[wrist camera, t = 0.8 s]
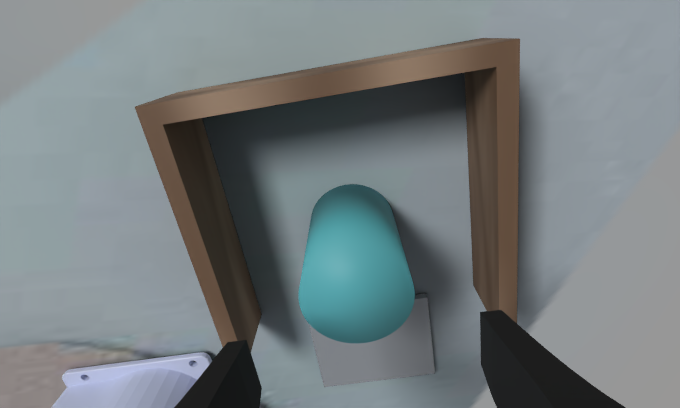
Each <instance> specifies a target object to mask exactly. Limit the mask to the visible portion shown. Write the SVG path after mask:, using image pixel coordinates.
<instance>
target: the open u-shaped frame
mask: <svg viewBox="0 0 680 408" xmlns="http://www.w3.org/2000/svg"><path fill="white" fill-rule="evenodd" d="M519 68H520V39H503V38H481V39H475V40H469V41H464V42H458V43H452V44H447V45H441V46H436V47H430V48H424V49H419V50H413V51H408V52H402V53H396V54H391V55H385V56H380V57H374V58H368V59H363V60H357V61H352V62H346V63H340V64H335V65H329V66H324V67H318V68H312V69H307V70H301V71H296V72H290V73H284V74H279V75H273V76H267V77H262V78H256V79H251V80H245V81H239V82H234V83H228V84H223V85H217V86H211V87H206V88H200V89H195V90H189V91H183V92H178V93H174V94H171V95H168V96H165V97H162V98H159V99H157V100H154V101H151V102H148V103H145V104H142V105H139V106H136V107H135V109H136V112H137V115H138V117H139V120H140V123H141V125H142V128H143V131H144V134H145V136H146V139H147V142H148V144H149V147H150V150H151V153H152V155H153V158H154V161H155V164H156V166H157V169H158V172H159V174H160V177H161V180H162V183H163V185H164V188H165V191H166V193H167V196H168V199H169V202H170V204H171V207H172V210H173V213H174V215H175V218H176V221H177V223H178V226H179V229H180V232H181V234H182V237H183V240H184V242H185V245H186V248H187V251H188V253H189V256H190V259H191V262H192V264H193V267H194V270H195V272H196V275H197V278H198V281H199V283H200V286H201V289H202V291H203V294H204V297H205V300H206V302H207V305H208V308H209V311H210V313H211V316H212V319H213V321H214V324H215V327H216V330H217V332H218V335H219V338H220V340H221V343H222V346H223V347H224V346H225V345H226V343H227V342H233V341H241V340H247V343H248V346H249V349H250V353H251V349H252V346H253V342H254V339H255V335H256V332H257V328H258V325H259V321H260V318H261V315H262V314H261V311H260V307H259V304H258V301H257V298H256V294H255V291H254V288H253V284H252V281H251V278H250V275H249V271H248V268H247V265H246V262H245V258H244V255H243V252H242V248H241V245H240V242H239V239H238V235H237V232H236V229H235V225H234V222H233V219H232V216H231V212H230V209H229V206H228V202H227V199H226V196H225V193H224V189H223V186H222V183H221V179H220V176H219V173H218V170H217V166H216V163H215V160H214V157H213V153H212V150H211V147H210V143H209V140H208V137H207V134H206V130H205V127H204V124H203V120H202V118H204V117H210V116H215V115H221V114H227V113H233V112H239V111H244V110H250V109H256V108H262V107H267V106H273V105H279V104H285V103H291V102H296V101H302V100H308V99H314V98H320V97H325V96H331V95H337V94H343V93H348V92H354V91H360V90H366V89H372V88H377V87H383V86H389V85H395V84H400V83H406V82H412V81H418V80H424V79H429V78H435V77H441V76H447V75H452V74H458V73H464V72H465V93H466V117H467V141H468V165H469V189H470V213H471V237H472V261H473V285H474V287H475V289H476V291H477V293H478V295H479V297H480V299H481V301H482V302H483V304H484V306H485V308H486V310H487V311H494V310H502V311H503V312H505V313H506V314H507V315H508V316H509V317H510V318H511V319H512V320H513V321H515V322H516V323H517V259H518V163H519Z"/></svg>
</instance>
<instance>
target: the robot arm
mask: <svg viewBox="0 0 680 408" xmlns="http://www.w3.org/2000/svg"><path fill="white" fill-rule="evenodd" d="M480 326H481V365H482V368H483V371H484V374H485V377H486V380H487V383H488V386H489V389H490V392H491V394H492V397H493V399H494V402H495V404H496V406H497V408H625V407H624V406H622V405H621V404H619V403H618V402H616V401H615V400H613V399H611V398H610V397H608V396H607V395H605V394H604V393H602V392H601V391H600V390H598V389H597V388H595V387H594V386H593V385H591V384H590V383H588V382H587V381H586V380H585V379H583V378H582V377H581V376H579V375H578V374H577V373H575V372H574V371H573V370H571V369H570V368H569V367H567V366H566V365H565V364H564V363H562V362H561V361H560V360H559V359H558V358H556V357H555V356H554V355H553V354H551V353H550V352H549V351H548V350H547V349H545V348H544V347H543V346H542V345H541V344H539V343H538V342H537V341H536V340H535V339H534V338H532V337H531V336H530V335H529V334H528V333H527V332H526V331H525V330H523V329H522V328H521V327H520V326H519V325H518V324H517V323H516V322H515V321H513V320H512V319H511V318H510V317H509V316H508V315H507V314H506V313H505V312H503V311H502V310H494V311H486V312H480ZM194 361H196V362H194ZM62 379H63V381H64V383H65V384H66V386H67V388H66V389H65V391H64V392H63V393H62V394H61V396H60V397H59V398H58V400H57V401H56V402H55V403H54V405H53V406H52V407H51V408H259V406H260V398H261V389H262V388H261V384H260V381H259V378H258V375H257V372H256V369H255V365H254V362H253V359H252V356H251V353H250V349H249V346H248V343H247V340H241V341H233V342H227V343H226V345H225V346H224V347H223V348H222V350H221V351H220V352H219V353H218V355H217V356H216V357H215V358H214V360H213V361H212V359H211V357H210V356H209V355H208V354H207V353H204V352H199V353H191V354H184V355H176V356H168V357H160V358H153V359H145V360H137V361H130V362H122V363H114V364H107V365H99V366H91V367H84V368H76V369H69V370H67V371H66V372H65V373H64V374H63V376H62Z"/></svg>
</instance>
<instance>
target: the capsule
mask: <svg viewBox="0 0 680 408" xmlns="http://www.w3.org/2000/svg"><path fill="white" fill-rule="evenodd" d="M414 299H415V290H414V285H413V281H412V278H411V274H410V271H409V267H408V264H407V260H406V257H405V253H404V250H403V247H402V243H401V240H400V236H399V233H398V229H397V226H396V223H395V219H394V216H393V212H392V209H391V207H390V205H389V203H388V202H387V200H386V199H385V198H384V197H383V196H382V195H381V194H380V193H378V192H377V191H375V190H374V189H372V188H369V187H366V186H363V185H357V184H350V185H343V186H339V187H336V188H334V189H332V190H330V191H328V192H327V193H325V194H324V195H323V196H322V197H321V198H320V199H319V200H318V202H317V203H316V205H315V207H314V209H313V212H312V216H311V222H310V228H309V234H308V239H307V245H306V251H305V257H304V263H303V269H302V275H301V281H300V287H299V305H300V308H301V311H302V313H303V315H304V317H305V319H306V320H307V322H308V323H309V324H310V325H311V326H312V327H313V328H314V329H315V330H316V331H318V332H319V333H321V334H322V335H324V336H326V337H328V338H330V339H333V340H336V341H339V342H344V343H357V344H358V343H367V342H373V341H376V340H379V339H382V338H384V337H386V336H388V335H390V334H392V333H393V332H394V331H396V330H397V329H398V328H399V327H400V326H402V324H403V323H404V322H405V321H406V320H407V318H408V317H409V315H410V313H411V311H412V308H413V305H414Z"/></svg>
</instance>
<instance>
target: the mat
mask: <svg viewBox="0 0 680 408" xmlns="http://www.w3.org/2000/svg"><path fill="white" fill-rule="evenodd" d="M309 327H310V331H311V335H312V339H313V343H314V347H315V351H316V355H317V359H318V363H319V367H320V371H321V375H322V379H323V383H324V387H328V386H337V385H345V384H353V383H361V382H370V381H378V380H386V379H394V378H403V377H411V376H419V375H427V374H435V369H434V358H433V348H432V338H431V328H430V318H429V307H428V297H427V294H426V293H425V294H418V295H415V299H414V305H413V308H412V311H411V313H410V315H409V317H408V318H407V320H406V321H405V322H404V323H403V324H402V326H400V327H399V328H398V329H397V330H396V331H394V332H393V333H392V334H390V335H388V336H386V337H384V338H382V339H379V340H376V341H373V342H367V343H358V344H357V343H344V342H339V341H336V340H333V339H330V338H328V337H326V336H324V335H322V334H321V333H319V332H318V331H316V330H315V329H314V328H313V327H312V326H311V325H310V324H309Z"/></svg>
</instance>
